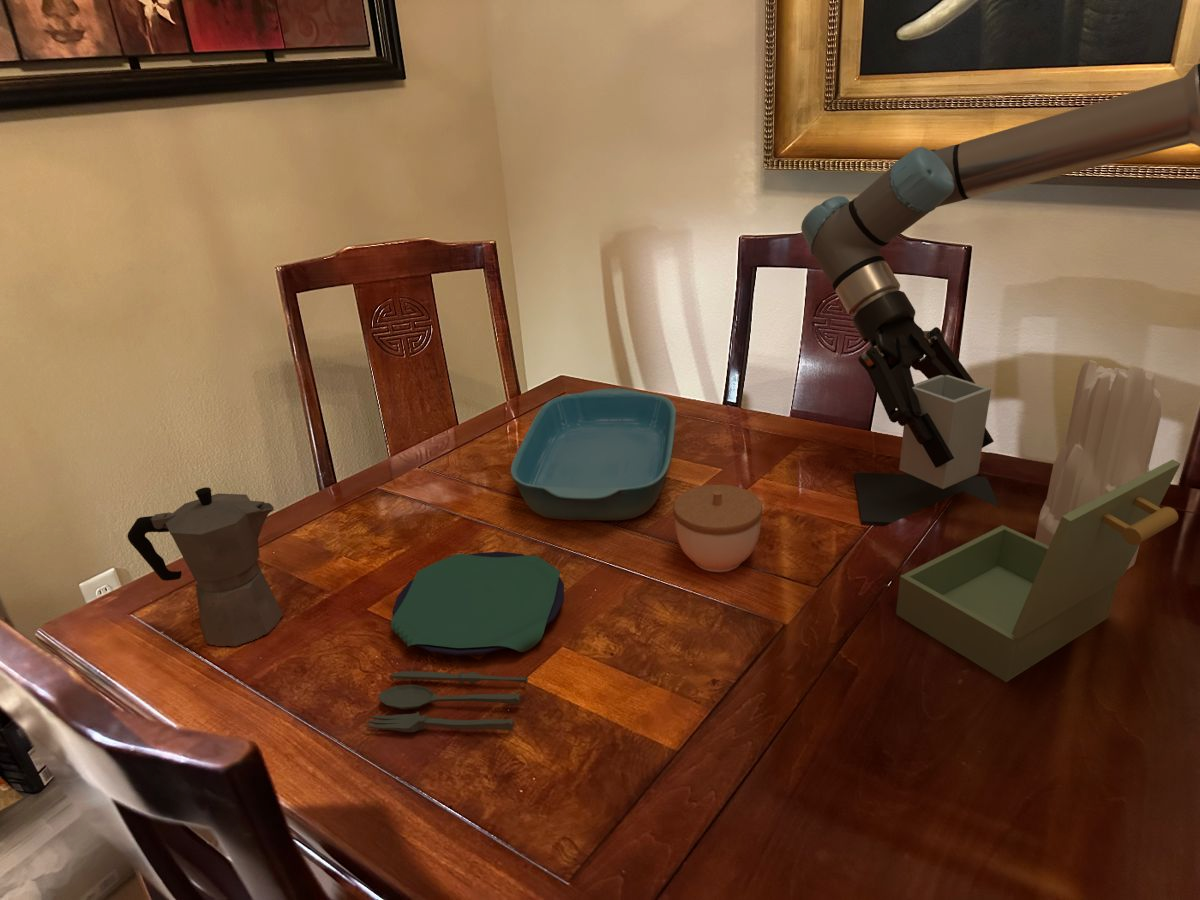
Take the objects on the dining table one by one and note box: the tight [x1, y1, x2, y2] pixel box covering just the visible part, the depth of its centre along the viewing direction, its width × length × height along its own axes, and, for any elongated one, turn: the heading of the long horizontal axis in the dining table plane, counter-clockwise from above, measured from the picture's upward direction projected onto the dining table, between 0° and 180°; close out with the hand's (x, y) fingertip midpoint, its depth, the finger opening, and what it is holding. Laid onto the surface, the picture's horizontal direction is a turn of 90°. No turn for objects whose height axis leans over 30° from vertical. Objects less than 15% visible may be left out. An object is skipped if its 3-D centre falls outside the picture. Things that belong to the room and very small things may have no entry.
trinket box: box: [672, 484, 763, 573], centre depth 103 cm, size 11×11×9 cm
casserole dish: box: [510, 387, 677, 522], centre depth 126 cm, size 37×22×7 cm, turn 172°
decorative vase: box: [1034, 359, 1162, 570], centre depth 96 cm, size 11×11×25 cm
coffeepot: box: [126, 486, 284, 647], centre depth 95 cm, size 15×9×18 cm, turn 102°
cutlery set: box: [365, 551, 565, 733], centre depth 93 cm, size 20×30×2 cm, turn 173°
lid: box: [1011, 459, 1182, 639], centre depth 78 cm, size 14×17×4 cm
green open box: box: [895, 524, 1119, 683], centre depth 90 cm, size 13×17×6 cm
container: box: [898, 375, 992, 489], centre depth 109 cm, size 7×7×12 cm
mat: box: [853, 471, 1001, 527], centre depth 115 cm, size 18×14×1 cm
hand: (965, 454), depth 107 cm, fingers closed on container, 7 cm apart
